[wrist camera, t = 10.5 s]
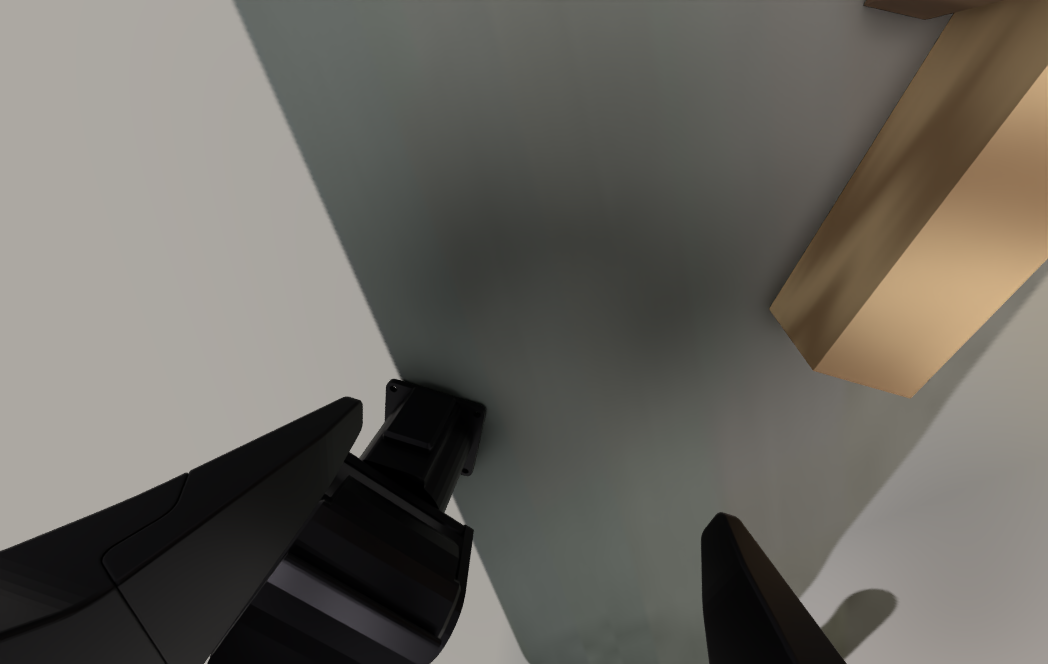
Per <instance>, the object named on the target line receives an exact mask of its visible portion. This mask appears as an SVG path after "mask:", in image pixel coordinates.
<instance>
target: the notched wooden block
mask: <svg viewBox="0 0 1048 664" xmlns="http://www.w3.org/2000/svg"><path fill="white" fill-rule="evenodd" d="M1000 1H1004V0H866V2H865V4H864V6H869V7H873V8H877V9H881V10H886V11H890V12H894V13H899V14H903V15H907V16H911V17H916V18H920V19H924V20H926V19H930V18H934V17H938V16H942V15H946V14H951V13H955V12H959V11H963V10H967V9H971V8H975V7H979V6H983V5H987V4H991V3H995V2H1000Z"/></svg>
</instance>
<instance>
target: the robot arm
mask: <svg viewBox="0 0 1048 664" xmlns="http://www.w3.org/2000/svg"><path fill="white" fill-rule="evenodd" d="M394 386H395V387H396V388H395V387H394ZM362 405H363V404H362V402H361V401H360V400H358V399H354V398H351V397H343V398H341V399H338V400H336V401H334V402H332V403H330V404H328V405H326V406H324V407H322V408H320V409H318V410H316V411H314V412H312V413H309V414H307V415H305V416H303V417H301V418H299V419H297V420H295V421H293V422H291V423H289V424H287V425H284V426H282V427H280V428H278V429H276V430H274V431H272V432H270V433H268V434H266V435H263V436H261V437H259V438H257V439H255V440H253V441H251V442H249V443H247V444H245V445H243V446H240V447H239V448H236V449H234V450H232V451H230V452H228V453H226V454H224V455H222V456H220V457H217V458H215V459H213V460H211V461H209V462H207V463H205V464H203V465H201V466H199V467H197V468H195V469H193V470H191V471H190V472H189V473H184V474H182V475H180V476H178V477H175V478H173V479H171V480H169V481H167V482H165V483H163V484H161V485H158V486H156V487H154V488H152V489H150V490H148V491H146V492H143V493H141V494H139V495H137V496H134V497H132V498H130V499H127V500H125V501H123V502H120V503H118V504H116V505H113V506H111V507H108V508H106V509H104V510H101V511H99V512H96V513H94V514H92V515H89V516H87V517H84V518H82V519H79V520H77V521H74V522H72V523H69V524H67V525H65V526H62V527H59V528H57V529H54V530H52V531H49V532H47V533H45V534H42V535H40V536H37V537H35V538H32V539H30V540H27V541H25V542H22V543H20V544H17V545H15V546H13V547H10V548H8V549H5V550H2V551H0V664H204V663H205V661H206V660H207V658H208V657H209V656H210V659H209V661H208V664H430V663H431V662H432V661H433V660H434V659H435V658H436V657H437V656H438V655H439V653H440V652H441V651H442V649H443V648H444V646H445V645H446V643H447V641H448V639H449V638H450V636H451V634H452V632H453V630H454V628H455V626H456V623H457V621H458V618H459V616H460V613H461V610H462V607H463V603H464V598H465V593H466V586H467V577H468V570H469V562H470V555H471V548H472V540H473V532H474V530H473V529H472V528H470V527H469V526H467V525H462V524H461V523H459V522H457V521H456V520H454V519H453V518H451V517H450V516H448V515H447V514H445V513H444V512H445V510H446V508H447V505H448V503H449V500H450V498H451V495H452V493H453V491H454V488H455V486H456V483H457V481H458V478H459V476H460V474H461V475H464V476H470V475H471V474H472V472H473V469H474V465H475V460H476V456H477V451H478V447H479V442H480V438H481V433H482V429H483V424H484V420H485V415H486V409H485V407H483V406H482V405H480V404H477V403H473V402H470V401H467V400H464V399H460V398H457V397H454V396H450V395H447V394H444V393H440V392H437V391H434V390H431V389H427V388H424V387H421V386H417V385H414V384H411V383H407V382H404V381H401V380H397V379H391V380H390V381H389V382H388V384H387V385H386V403H385V405H386V406H385V422H384V424H383V425H382V427H381V428H380V430H379V431H378V433H377V434H376V435H375V437H374V438H373V439H372V441H371V442H370V444H369V445H368V447H367V448H366V449H365V451H364V452H363V454H362V455H361V456H360V458H357V457H356V456H355V455H353V454H352V453H350V452H349V451H350V449H351V448H352V446H353V444H354V442H355V440H356V439H357V437H358V435H359V433H360V431H361V428H362V424H363V420H362V419H363V406H362ZM476 411H477V412H479V413H477V412H476ZM701 562H702V604H703V616H704V624H705V633H706V641H707V649H708V657H709V664H846V662H845V661H844V659H843V658H842V657H841V655H840V654H839V653H838V651H837V650H836V649H835V647H834V646H833V645H832V643H831V642H830V641H829V639H828V638H827V637H826V635H825V634H824V633H823V631H822V630H821V628H820V627H819V626H818V624H817V623H816V622H815V621H814V619H813V618H812V616H811V615H810V614H809V612H808V611H807V610H806V608H805V607H804V606H803V604H802V603H801V602H800V600H799V599H798V597H797V596H796V595H795V593H794V592H793V591H792V589H791V588H790V587H789V585H788V584H787V583H786V581H785V580H784V579H783V577H782V576H781V575H780V573H779V572H778V571H777V569H776V568H775V566H774V565H773V564H772V562H771V561H770V560H769V558H768V557H767V556H766V554H765V553H764V552H763V550H762V549H761V548H760V546H759V545H758V544H757V542H756V541H755V540H754V538H753V537H752V535H751V534H750V533H749V531H748V530H747V529H746V527H745V526H744V525H743V523H742V522H741V521H740V520H739V519H738V518H737V517H735V516H733V515H729V514H726V513H723V512H720V513H717V514H716V515H715V517H714V518H713V519H712V520H711V522H710V523H709V524H708V525H707V527H706V528H705V529H704V531H703V533H702V537H701ZM210 654H211V655H210Z"/></svg>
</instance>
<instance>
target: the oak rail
mask: <svg viewBox="0 0 1048 664" xmlns="http://www.w3.org/2000/svg"><path fill="white" fill-rule="evenodd" d="M1047 259H1048V0H1004V1H1000V2H995V3H991V4H987V5H983V6H979V7H975V8H971V9H967V10H963V11H959V12H955V13H954V14H953V16H952V17H951V19H950V20H949V22H948V24H947V25H946V27H945V28H944V30H943V32H942V33H941V35H940V36H939V38H938V40H937V41H936V43H935V44H934V46H933V48H932V49H931V51H930V52H929V54H928V56H927V57H926V59H925V60H924V62H923V64H922V65H921V67H920V68H919V70H918V72H917V73H916V75H915V76H914V78H913V80H912V81H911V83H910V84H909V86H908V88H907V89H906V91H905V92H904V94H903V96H902V97H901V99H900V100H899V102H898V104H897V105H896V107H895V108H894V110H893V112H892V113H891V115H890V116H889V118H888V120H887V121H886V123H885V124H884V126H883V128H882V129H881V131H880V132H879V134H878V136H877V137H876V139H875V140H874V142H873V144H872V145H871V147H870V148H869V150H868V152H867V153H866V155H865V156H864V158H863V160H862V161H861V163H860V164H859V166H858V168H857V169H856V171H855V172H854V174H853V176H852V177H851V179H850V180H849V182H848V184H847V185H846V187H845V188H844V190H843V192H842V193H841V195H840V196H839V198H838V200H837V201H836V203H835V204H834V206H833V208H832V209H831V211H830V212H829V214H828V215H827V217H826V219H825V220H824V222H823V223H822V225H821V227H820V228H819V230H818V231H817V233H816V235H815V236H814V238H813V239H812V241H811V243H810V244H809V246H808V247H807V249H806V251H805V252H804V254H803V255H802V257H801V259H800V260H799V262H798V263H797V265H796V267H795V268H794V270H793V271H792V273H791V275H790V276H789V278H788V279H787V281H786V283H785V284H784V286H783V287H782V289H781V291H780V292H779V294H778V295H777V297H776V299H775V300H774V302H773V303H772V305H771V307H770V308H769V310H770V311H771V312H772V314H773V315H774V317H775V318H776V319H777V321H778V322H779V324H780V325H781V326H782V328H783V329H784V331H785V332H786V333H787V335H788V336H789V338H790V339H791V340H792V342H793V343H794V344H795V346H796V347H797V349H798V350H799V351H800V353H801V354H802V356H803V357H804V358H805V360H806V361H807V363H808V364H809V365H810V367H811V368H812V370H813V371H816V372H820V373H823V374H827V375H830V376H834V377H837V378H841V379H844V380H848V381H851V382H855V383H858V384H862V385H865V386H869V387H872V388H876V389H879V390H883V391H886V392H890V393H893V394H897V395H900V396H904V397H907V398H911V397H912V396H913V395H914V394H915V393H916V392H917V391H918V390H919V389H920V388H921V387H922V386H923V385H924V384H925V383H926V382H927V381H928V380H929V379H930V378H931V377H932V376H933V375H934V374H935V373H936V372H937V371H938V370H939V369H940V368H941V367H942V366H943V365H944V364H945V363H946V362H947V361H948V360H949V359H950V358H951V357H952V356H953V355H954V354H955V353H956V352H957V350H958V349H959V348H960V347H961V346H962V345H963V344H964V343H965V342H966V341H967V340H968V339H969V338H970V337H971V336H972V335H973V334H974V333H975V332H976V331H977V330H978V329H979V328H980V327H981V326H982V325H983V324H984V323H985V322H986V321H987V320H988V319H989V318H990V317H991V316H992V315H993V314H994V313H995V312H996V311H997V310H998V309H999V308H1000V307H1001V306H1002V305H1003V304H1004V303H1005V302H1006V300H1007V299H1008V298H1009V297H1010V296H1011V295H1012V294H1013V293H1014V292H1015V291H1016V290H1017V289H1018V288H1019V287H1020V286H1021V285H1022V284H1023V283H1024V282H1025V281H1026V280H1027V279H1028V278H1029V277H1030V276H1031V275H1032V274H1033V273H1034V272H1035V271H1036V270H1037V269H1038V268H1039V267H1040V266H1041V265H1042V264H1043V263H1044V262H1045V261H1046V260H1047Z"/></svg>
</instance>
